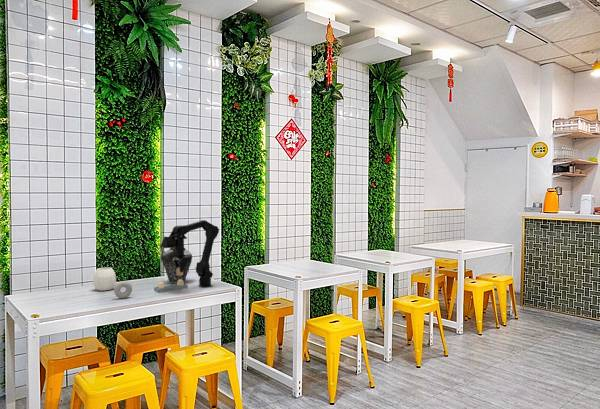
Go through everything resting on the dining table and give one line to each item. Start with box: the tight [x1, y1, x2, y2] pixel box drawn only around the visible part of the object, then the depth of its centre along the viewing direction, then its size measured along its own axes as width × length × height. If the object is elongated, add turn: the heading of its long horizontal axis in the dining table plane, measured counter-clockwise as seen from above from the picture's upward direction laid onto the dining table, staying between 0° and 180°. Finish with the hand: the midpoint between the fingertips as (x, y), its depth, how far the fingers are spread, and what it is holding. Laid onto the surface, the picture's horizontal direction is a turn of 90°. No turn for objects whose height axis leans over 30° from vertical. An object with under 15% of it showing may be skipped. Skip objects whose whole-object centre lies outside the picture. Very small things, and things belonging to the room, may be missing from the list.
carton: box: [153, 279, 189, 293], centre depth 303 cm, size 19×7×6 cm, turn 128°
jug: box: [159, 241, 193, 284], centre depth 325 cm, size 21×19×30 cm
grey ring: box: [113, 280, 133, 299], centre depth 280 cm, size 10×4×10 cm, turn 121°
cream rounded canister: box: [92, 266, 117, 292], centre depth 305 cm, size 13×13×14 cm
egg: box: [176, 267, 183, 276], centre depth 298 cm, size 4×4×5 cm
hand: (179, 272), depth 298 cm, fingers closed on egg, 4 cm apart
